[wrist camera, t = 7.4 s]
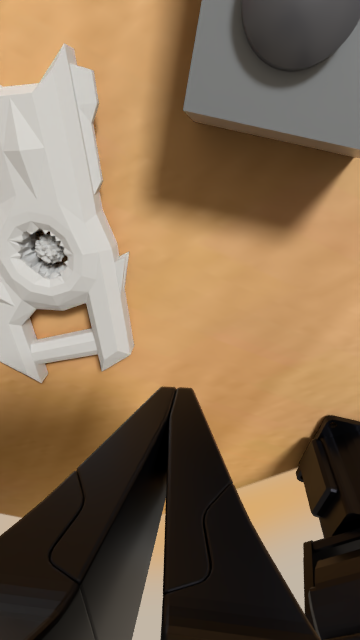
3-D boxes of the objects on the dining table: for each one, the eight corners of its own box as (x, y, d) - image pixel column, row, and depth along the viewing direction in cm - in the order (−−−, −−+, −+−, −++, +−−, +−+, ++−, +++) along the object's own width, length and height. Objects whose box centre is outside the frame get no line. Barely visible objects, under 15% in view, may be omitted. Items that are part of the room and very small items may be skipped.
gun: (-151, 60, 14) (81, 33, 13) (-86, 72, 17) (106, 51, 16) (-3, 394, 23) (141, 396, 22) (23, 363, 26) (150, 363, 25)
